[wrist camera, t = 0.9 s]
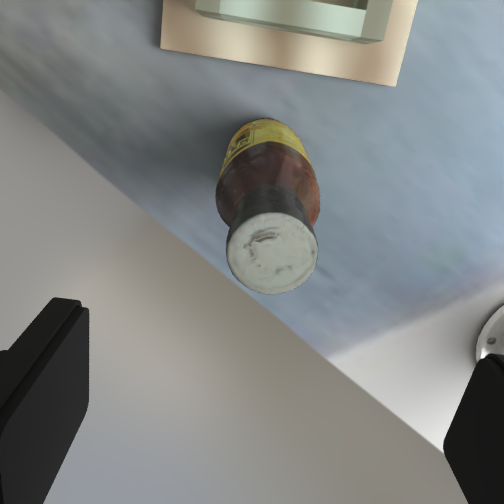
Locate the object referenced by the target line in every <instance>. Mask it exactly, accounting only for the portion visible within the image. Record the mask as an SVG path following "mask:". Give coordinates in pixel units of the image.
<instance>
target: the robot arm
mask: <svg viewBox="0 0 504 504" xmlns="http://www.w3.org/2000/svg"><path fill="white" fill-rule="evenodd" d="M476 360H477V364H476V367H475V369H474V371H473V374H472V376H471V378H470V381H469V383H468V385H467V388H466V390H465V392H464V395H463V397H462V399H461V402H460V404H459V406H458V409H457V411H456V413H455V416H454V418H453V420H452V423H451V425H450V427H449V430H448V432H447V434H446V437H445V439H444V443H443V450H444V454H445V457H446V459H447V461H448V463H449V464H450V467H451V469H452V471H453V473H454V475H455V477H456V479H457V481H458V483H459V485H460V487H461V489H462V491H463V493H464V495H465V497H466V500H467V502H468V504H504V305H503V306H502V307H501V308H499V309H498V310H497V311H496V312H495V313H494V314H493V315H492V316H491V317H490V319H489V320H488V321H487V323H486V324H485V326H484V327H483V329H482V331H481V333H480V335H479V337H478V341H477V345H476ZM88 402H89V309H88V308H84V307H82V305H81V302H80V301H79V300H72V299H65V298H56V297H55V298H52V299H51V300H50V302H49V303H48V304H47V305H46V306H45V307H44V309H43V310H42V311H41V312H40V313H39V315H38V316H37V317H36V318H35V319H34V320H33V321H32V323H31V324H30V325H29V326H28V327H27V328H26V330H25V331H24V332H23V333H22V334H21V336H20V337H19V338H18V339H17V340H16V341H15V343H14V344H13V345H12V346H11V347H10V348H9V350H2V351H0V504H43V503H44V500H45V498H46V496H47V494H48V492H49V490H50V488H51V486H52V484H53V482H54V479H55V477H56V475H57V473H58V471H59V469H60V467H61V465H62V463H63V461H64V459H65V456H66V454H67V452H68V450H69V448H70V446H71V444H72V442H73V440H74V438H75V435H76V433H77V431H78V429H79V427H80V425H81V423H82V421H83V419H84V416H85V414H86V411H87V408H88Z"/></svg>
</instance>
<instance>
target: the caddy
mask: <svg viewBox="0 0 504 504" xmlns="http://www.w3.org/2000/svg"><path fill="white" fill-rule="evenodd" d="M417 2H418V0H163V13H162V30H161V46H160V49H166V50H172V51H178V52H184V53H190V54H197V55H203V56H209V57H215V58H221V59H227V60H233V61H240V62H246V63H252V64H258V65H264V66H270V67H277V68H283V69H289V70H295V71H301V72H307V73H313V74H320V75H326V76H332V77H338V78H344V79H350V80H357V81H363V82H369V83H375V84H381V85H387V86H394V87H396V83H397V79H398V75H399V71H400V67H401V63H402V60H403V56H404V52H405V48H406V44H407V40H408V36H409V33H410V29H411V25H412V21H413V17H414V13H415V9H416V6H417Z"/></svg>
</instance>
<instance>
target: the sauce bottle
mask: <svg viewBox="0 0 504 504" xmlns="http://www.w3.org/2000/svg"><path fill="white" fill-rule="evenodd" d="M216 205H217V209H218V212H219V214H220V216H221V218H222V219H223V221H224V222H225V223H226V224H227V225H228V226H229V227H230V229H229V232H228V236H227V242H226V255H227V262H228V265H229V267H230V269H231V272H232V274H233V275H234V276H235V278H236V279H237V280H238V281H239V282H241V283H242V284H243V285H244V286H246V287H247V288H249V289H250V290H253V291H256V292H258V293H263V294H280V293H285V292H288V291H290V290H292V289H295V288H297V287H299V286H300V285H301V284H302V283H304V282H305V281H306V280H307V279H308V278H309V276H310V275H311V274H312V272H313V270H314V268H315V265H316V262H317V256H318V243H317V240H316V235H315V233H314V230H313V226H314V224H315V222H316V220H317V218H318V214H319V212H320V193H319V187H318V184H317V179H316V176H315V173H314V170H313V168H312V165H311V163H310V161H309V159H308V157H307V155H306V152H305V150H304V148H303V145H302V143H301V141H300V139H299V137H298V136H297V135H296V134H295V132H294V131H293V130H292V129H290V128H289V127H288V126H286V125H285V124H283V123H281V122H279V121H277V120H274V119H270V118H268V119H265V118H262V119H259V120H255V121H253V122H250V123H248V124H245V125H244V126H243V127H241V128H240V129H239V130H238V131H237V132H236V133H235V135H234V136H233V138H232V139H231V141H230V144H229V146H228V149H227V153H226V156H225V159H224V162H223V166H222V169H221V173H220V176H219V179H218V184H217V188H216Z"/></svg>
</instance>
